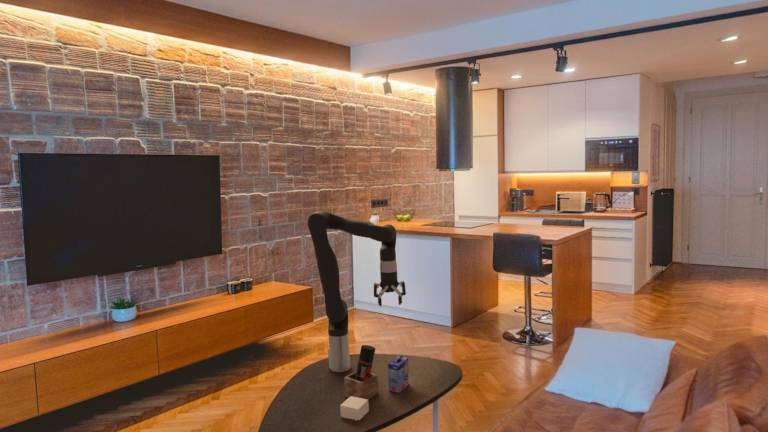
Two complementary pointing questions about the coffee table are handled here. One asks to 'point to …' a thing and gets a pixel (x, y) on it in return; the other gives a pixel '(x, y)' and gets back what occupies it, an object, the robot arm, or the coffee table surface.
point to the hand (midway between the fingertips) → (390, 305)
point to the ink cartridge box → (398, 374)
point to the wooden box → (361, 386)
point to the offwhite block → (354, 408)
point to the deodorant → (365, 362)
